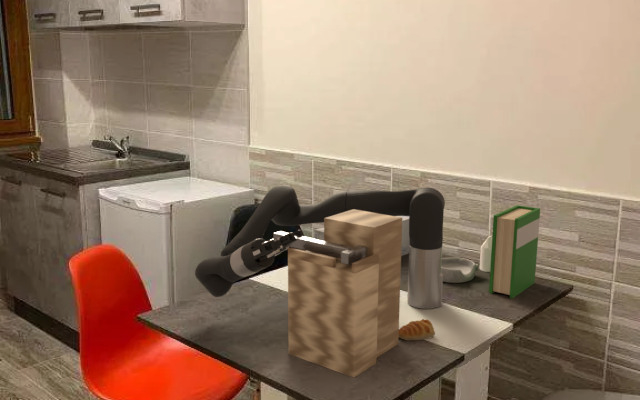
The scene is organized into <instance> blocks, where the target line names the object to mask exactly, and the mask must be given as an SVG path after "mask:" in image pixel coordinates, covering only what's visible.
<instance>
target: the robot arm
mask: <svg viewBox="0 0 640 400" xmlns="http://www.w3.org/2000/svg"><path fill="white" fill-rule="evenodd" d="M444 197H445V196H444V195H443V194H442V193H441V192H440V191H439V190H437V189H435V188H432V187H421V188H420V187H419V188H414V189H405V190H395V191H394V190H392V191H391V190H377V189H376V190H373V189H371V190H369V189H367V190H366V189H364V190H363V189H356V190H355V189H350V190H348V189H347V190H341V191H338V192H336V193H333V194H332V195H331V196H329V197H327V198H325V199H324V200H322V201H321V202H317V203H312V204H299V203H300V202H299V200H298V196H297V193H296V190H295V189H294V187H292V186H291V185H289V184H278V185H276V186H274V187H273V188H271V189H270V190H269V191H268V192H267V193H266V195H265V196H264V197H263V198H262V200H261V201H260V203H259V204H258V206H257V208H256V209H255V211H253V213H252V214H251V216H250V218H248V220H247V221H246V223H245V225H244V226H243V227H242V229H241V230H240V231H239V232H238V233H237V234H236V235H235V236H234V237H233V239H231V240H230V242H228V244H227V245H226V246H225V247H224V248H222V249H221V252H220V256H215V257H213V256H212V257H208V258H206V259H204V260H202V261H201V262H200V263H198V264H197V266H196V267H195V271H194V274H195V278H196V279H197V281H198V282H199V283H200V284H201V285H202V286H203V287H204V288H205V289H206V290H207V292H208V293H209V294H210V295H211V296H212V297H215V298H221V297H224V296H225V295H226V294H228V292H229V291H230V290H231V289H232V287H233V285H234V283H235V282H237V281H239V280H242V279H244V278H246V277H249V276H253V275H254V274H256V273H258V272H260V271H262V270H265V269H267V268H269V267H270V266H272V265H273V263H274V262H275V257H276V256H278V255H280V254H282V252H284V251H287V250H288V248H292V247H290V246H286V245H288V244H290V243H292V242H294V241H295V236H294V234H295V235H300V236H304V234H303V231H302V230H301V229H298V230H296V231H294V232H287V233H288V234H286V235H284V236H282V237H281V238H280V237H278V238H277V239H273V238H271V239H268V240H266V239H264V235H265V232H266V231H267V228H268V226H269V225H270V223H271V221H272V223H273V224H275V225H277V226H281V227H290V226H291V227H292V226H299V225H309V224H310V225H311V224H319V223H320V224H321V223H323V224H324V218H326V217H330V216H333V215H336V214H340V213H343V212H346V211H350V210H353V209H355V210H361V211H367V212H373V213H378V214H384V215H390V216H409V254H408V273H407V293H406V294H407V304H408V305H409V306H411V307H413V308H416V309H417V308H418V309H434V308H437V307H442V306H443V284H444V282H443V274H442V272H441V265H442V258H443V242H444V240H443V239H444V237H443V232H444V213H445V210H444V209H445V205H446V204H445V203H446V202H445V201H446V200H445V198H444Z"/></svg>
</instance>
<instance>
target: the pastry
mask: <svg viewBox="0 0 640 400" xmlns="http://www.w3.org/2000/svg"><path fill="white" fill-rule="evenodd" d="M435 334H436V331H435V328H434V326H433V323H432V322H431V321H430V320H429V319H424V318H422V319H421V320H411V321H409V322H408V323H407V324H405V325H403V326H402V327H399V339H401V340H404V341H421V340H427V339H432V338H433V337H434V336H435Z"/></svg>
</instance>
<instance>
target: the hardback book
mask: <svg viewBox="0 0 640 400" xmlns="http://www.w3.org/2000/svg"><path fill="white" fill-rule="evenodd" d="M540 217H541V208H538V207H531V206H524V205H517V204H516V205H514V206H512V207H510V208H507V209H506V210H503V211H501V212H498V213H496V214H493V218H492V221H493V222H492V250H491V266H490V272H489V273H490V274H489V283H488V284H489V285H488V294H494V293H495V292H496V293H500V294H504V295H508V296H509V298H510V299H514V298H515V297H516V296H518V295H519V294H521V293H523V292H525V290H527V289H528V288H530V287H531V286H533V285H534V284H535V283H536V267H537V257H538V256H537V255H538V245H539V244H538V243H539V233H540V232H539V231H540Z"/></svg>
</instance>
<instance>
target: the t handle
mask: <svg viewBox="0 0 640 400" xmlns="http://www.w3.org/2000/svg"><path fill="white" fill-rule="evenodd" d="M288 233H289V232H286V231H283V230H279V231H276V232H273V237H272V239H277V238H278V237H280V238H281V237H282V236H284V235H286V234H288ZM294 236H295V241H294V242H292V243H290V244H288V245H286V246H290V247H291V248H295V249H299V250H303V251H306V250H307V251H311V252H315V253H319V254H323V255H328V256H332V257H336V258H340V259H341V263H344V264H351V263H353V262H357V261H359V260H362V259H363V258H365V257H367V247H366V246H362V245H358V246H356V247H350V246H346V245H341V244H337V243H332V242H328V241H323V240H319V239H315V237H314V238H313V237H309V236H305V235H303V236H300V235H295V234H294Z"/></svg>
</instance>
